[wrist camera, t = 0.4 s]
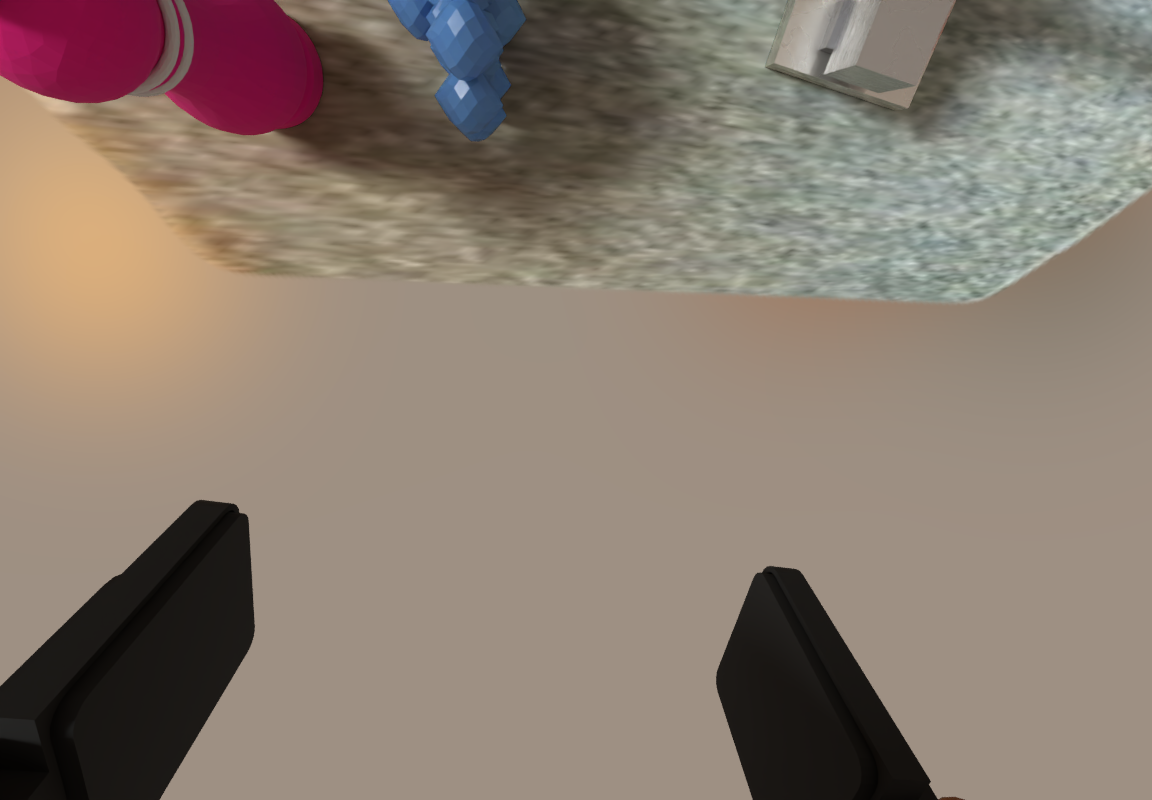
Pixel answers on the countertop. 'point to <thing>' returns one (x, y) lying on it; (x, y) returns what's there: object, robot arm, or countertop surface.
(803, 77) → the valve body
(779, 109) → the countertop surface
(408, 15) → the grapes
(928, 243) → the countertop surface
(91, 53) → the pepper mill
